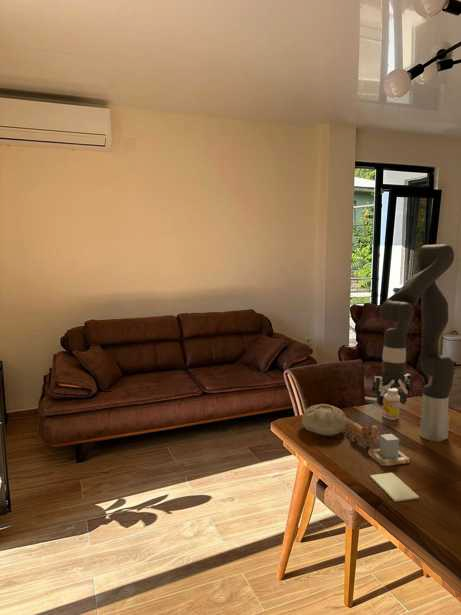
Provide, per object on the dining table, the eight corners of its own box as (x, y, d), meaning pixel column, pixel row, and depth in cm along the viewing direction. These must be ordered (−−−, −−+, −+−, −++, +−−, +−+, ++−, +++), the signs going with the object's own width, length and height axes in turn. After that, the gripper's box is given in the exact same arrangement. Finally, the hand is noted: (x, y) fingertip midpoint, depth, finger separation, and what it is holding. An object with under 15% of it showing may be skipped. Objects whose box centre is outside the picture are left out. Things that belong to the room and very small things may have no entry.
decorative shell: (325, 445, 163) (326, 419, 162) (292, 428, 177) (292, 405, 176) (355, 433, 174) (356, 409, 172) (321, 418, 188) (322, 396, 186)
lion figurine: (381, 449, 160) (383, 426, 159) (372, 452, 157) (373, 429, 156) (350, 434, 172) (351, 413, 171) (341, 437, 169) (342, 416, 168)
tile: (391, 474, 142) (392, 472, 142) (419, 498, 129) (419, 496, 129) (370, 476, 141) (370, 475, 141) (395, 501, 127) (395, 499, 127)
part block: (390, 454, 156) (391, 433, 155) (397, 460, 152) (399, 439, 150) (379, 455, 155) (380, 434, 154) (386, 462, 151) (387, 440, 149)
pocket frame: (394, 450, 159) (394, 447, 158) (409, 462, 150) (409, 458, 150) (368, 453, 156) (368, 449, 156) (382, 466, 148) (382, 461, 148)
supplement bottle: (379, 414, 192) (381, 387, 191) (393, 413, 194) (395, 386, 192) (387, 420, 186) (389, 392, 184) (401, 419, 187) (403, 391, 185)
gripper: (406, 355, 153) (403, 399, 156) (369, 357, 150) (367, 402, 153) (419, 360, 146) (416, 406, 148) (381, 363, 143) (378, 410, 145)
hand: (391, 404), depth 150 cm, fingers open, 8 cm apart
